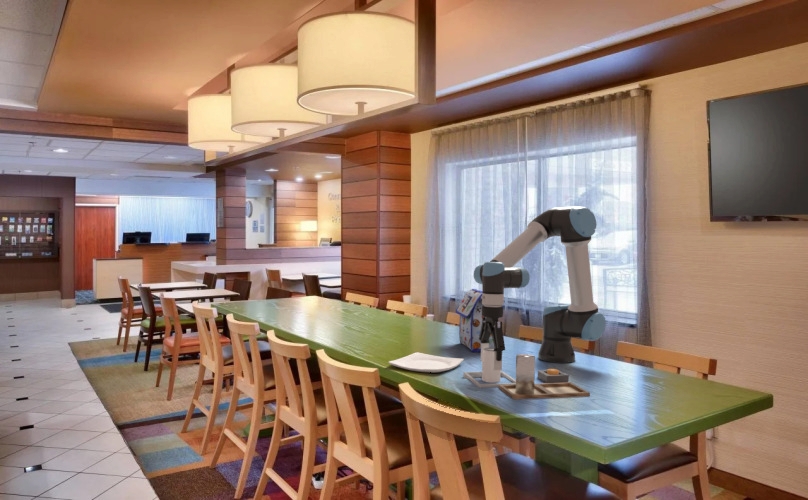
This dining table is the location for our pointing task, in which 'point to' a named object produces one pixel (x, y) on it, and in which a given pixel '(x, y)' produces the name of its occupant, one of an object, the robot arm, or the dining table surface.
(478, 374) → the grey rectangular frame
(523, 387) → the billet
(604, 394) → the dining table surface
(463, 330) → the lunch bag
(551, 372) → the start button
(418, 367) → the plate
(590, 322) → the robot arm
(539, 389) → the divided wooden tray
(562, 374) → the grey square egg holder
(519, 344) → the dining table surface
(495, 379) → the can
